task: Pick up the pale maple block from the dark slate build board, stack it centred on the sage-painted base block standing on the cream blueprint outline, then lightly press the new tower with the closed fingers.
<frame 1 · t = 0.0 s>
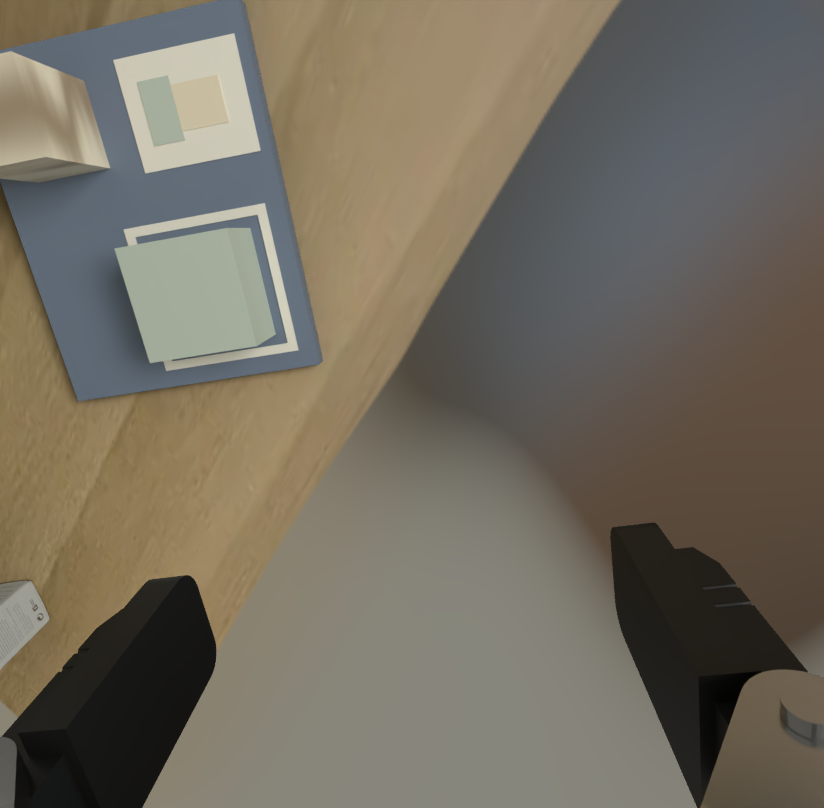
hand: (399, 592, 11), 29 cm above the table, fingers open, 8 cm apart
maple block: (60, 133, 35), point 1 cm above the table, touching build board
skincare box: (13, 604, 48), on the table
base block: (213, 291, 37), point 1 cm above the table, touching build board
build board: (158, 221, 37), on the table
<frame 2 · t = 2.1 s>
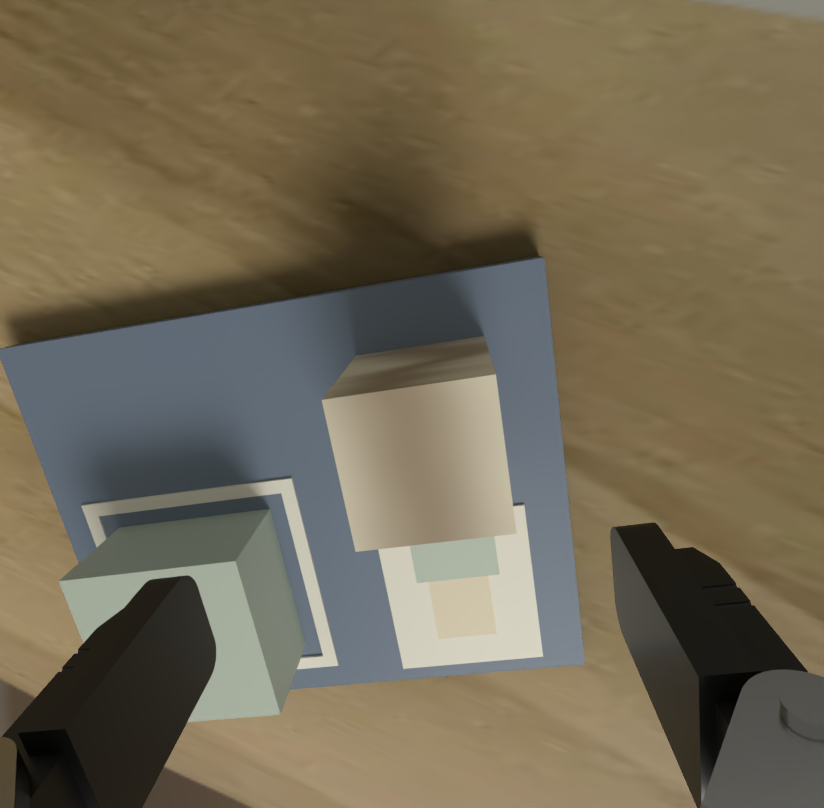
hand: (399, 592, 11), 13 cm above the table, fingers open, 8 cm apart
maple block: (429, 407, 22), point 1 cm above the table, touching build board
base block: (214, 586, 25), point 1 cm above the table, touching build board
build board: (312, 502, 25), on the table
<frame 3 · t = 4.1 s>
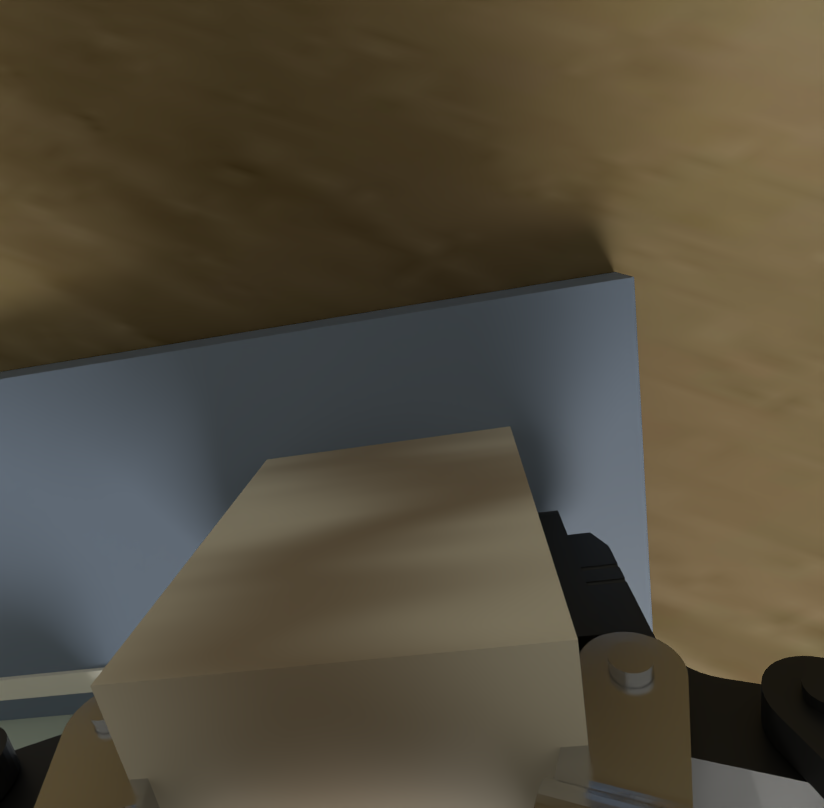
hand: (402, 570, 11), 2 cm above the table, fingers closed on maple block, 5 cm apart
maple block: (406, 551, 12), point 1 cm above the table, touching build board, gripper
build board: (213, 682, 15), on the table
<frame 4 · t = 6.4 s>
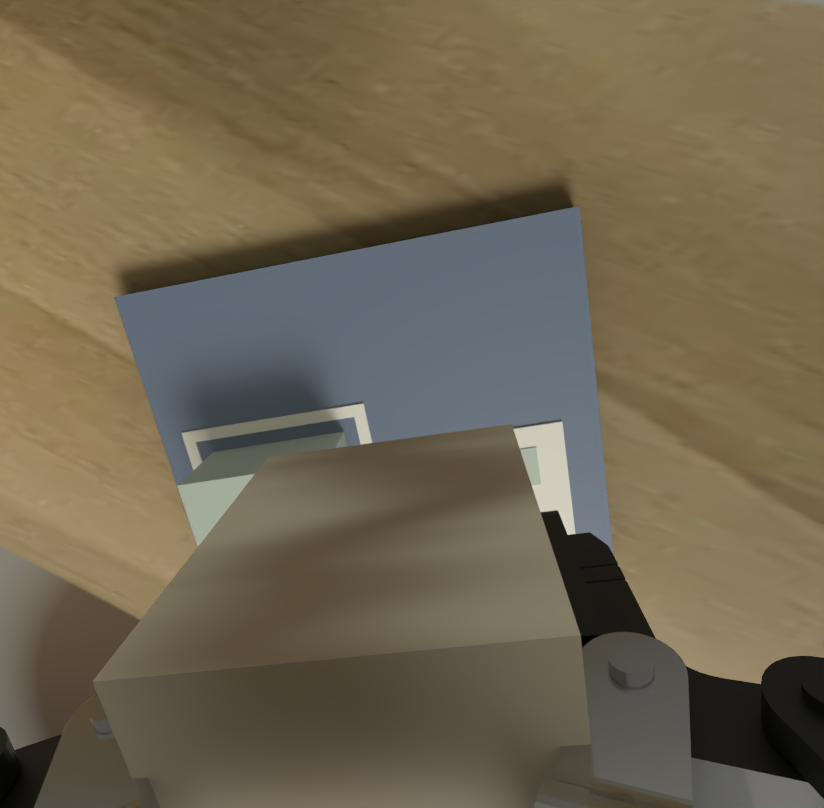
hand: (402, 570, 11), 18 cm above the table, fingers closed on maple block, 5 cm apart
maple block: (407, 548, 12), point 17 cm above the table, touching gripper
base block: (294, 503, 30), point 1 cm above the table, touching build board
build board: (378, 428, 29), on the table
when the fingers open (7 cm above the table, at t = 9.0 s): maple block stays where it is, resting on base block.
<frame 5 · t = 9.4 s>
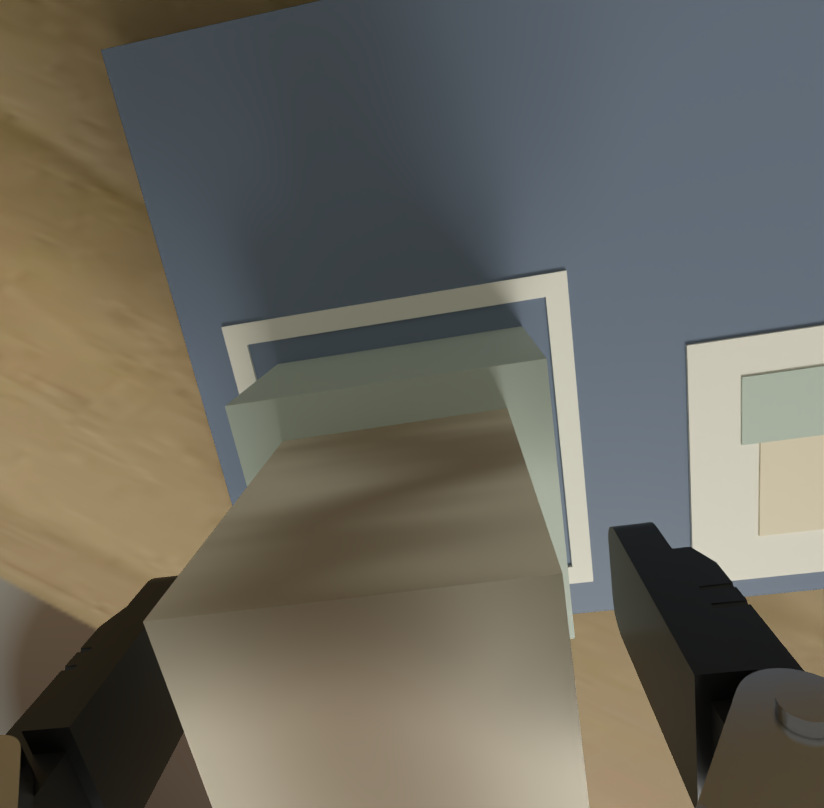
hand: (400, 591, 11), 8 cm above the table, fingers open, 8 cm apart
maple block: (412, 526, 13), point 5 cm above the table, touching base block
base block: (417, 459, 17), point 1 cm above the table, touching build board, maple block
build board: (569, 328, 16), on the table
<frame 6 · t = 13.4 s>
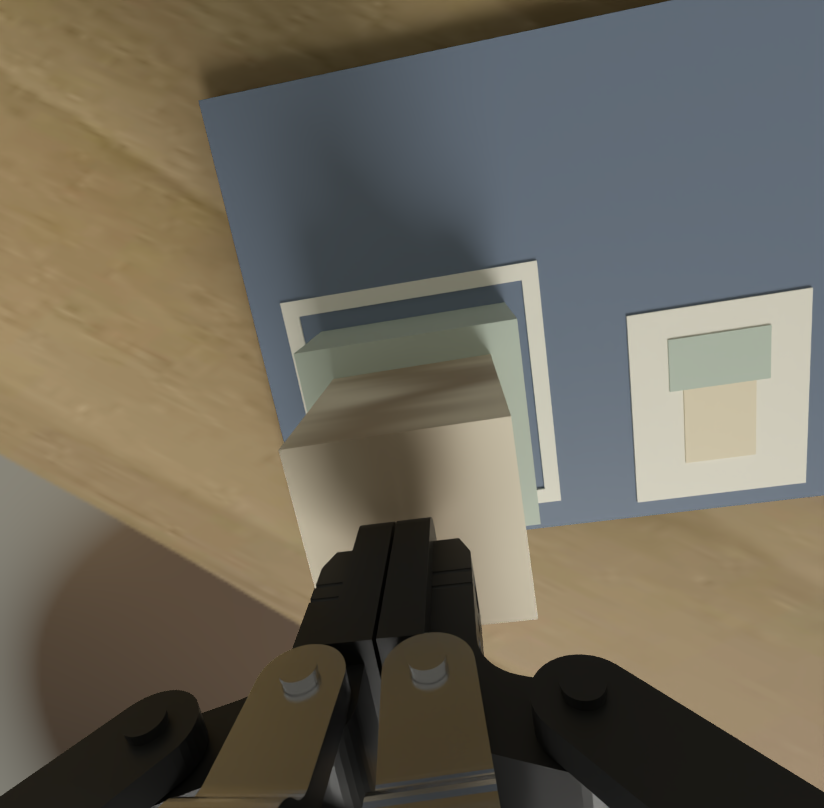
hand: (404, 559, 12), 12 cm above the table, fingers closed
maple block: (424, 440, 18), point 5 cm above the table, touching base block
base block: (426, 405, 22), point 1 cm above the table, touching build board, maple block
build board: (541, 304, 22), on the table
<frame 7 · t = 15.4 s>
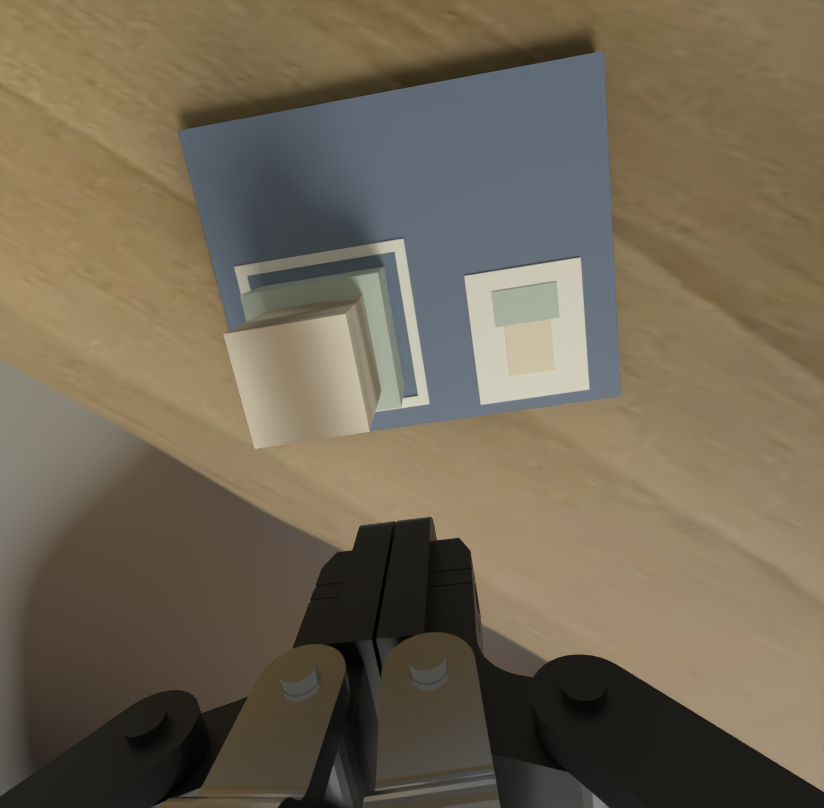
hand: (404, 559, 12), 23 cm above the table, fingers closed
maple block: (324, 351, 29), point 5 cm above the table, touching base block
base block: (335, 337, 32), point 1 cm above the table, touching build board, maple block
build board: (412, 269, 32), on the table
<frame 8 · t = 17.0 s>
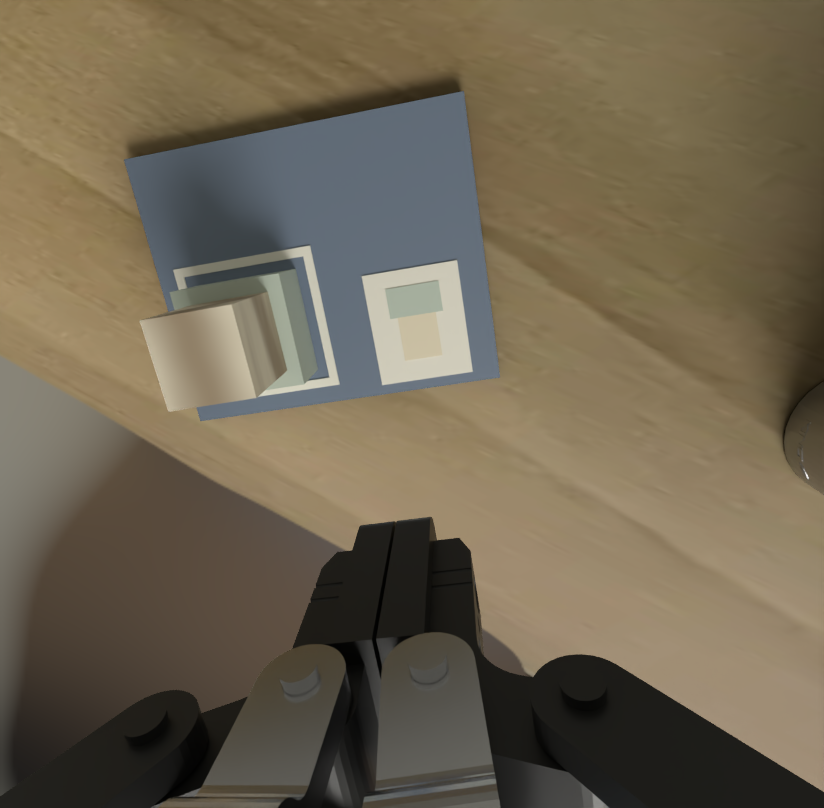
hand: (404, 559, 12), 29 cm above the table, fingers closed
maple block: (239, 338, 35), point 5 cm above the table, touching base block
base block: (258, 328, 39), point 1 cm above the table, touching build board, maple block
build board: (322, 271, 39), on the table
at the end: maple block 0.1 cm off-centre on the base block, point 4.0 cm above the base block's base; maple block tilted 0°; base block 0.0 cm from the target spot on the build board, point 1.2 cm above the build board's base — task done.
